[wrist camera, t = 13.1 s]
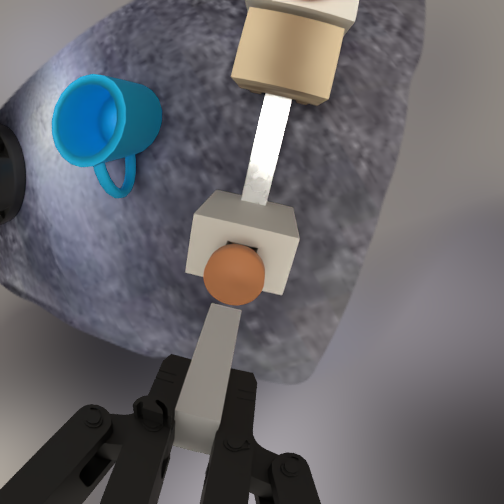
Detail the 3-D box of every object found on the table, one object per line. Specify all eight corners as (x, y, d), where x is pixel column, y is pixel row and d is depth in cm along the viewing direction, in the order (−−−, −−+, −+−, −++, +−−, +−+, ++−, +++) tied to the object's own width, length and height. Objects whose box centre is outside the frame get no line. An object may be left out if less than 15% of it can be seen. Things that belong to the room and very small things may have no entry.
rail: (243, 195, 30) (241, 200, 28) (280, 37, 23) (281, 30, 22) (266, 200, 30) (265, 205, 28) (305, 42, 23) (307, 37, 22)
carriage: (242, 90, 26) (230, 76, 18) (256, 36, 23) (249, 6, 16) (314, 107, 26) (328, 99, 18) (327, 53, 23) (344, 28, 16)
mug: (93, 95, 27) (47, 93, 19) (157, 74, 26) (120, 60, 18) (109, 195, 31) (68, 216, 24) (173, 183, 30) (142, 201, 23)
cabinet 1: (205, 233, 32) (181, 271, 24) (213, 188, 30) (190, 212, 22) (280, 251, 32) (282, 295, 24) (293, 207, 30) (299, 238, 22)
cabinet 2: (249, 31, 23) (239, -5, 15) (260, -7, 21) (254, -50, 13) (332, 50, 23) (354, 21, 15) (341, 11, 21) (363, -26, 13)
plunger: (213, 264, 25) (199, 297, 20) (222, 220, 23) (208, 244, 19) (260, 275, 25) (256, 310, 20) (272, 231, 24) (270, 259, 19)
